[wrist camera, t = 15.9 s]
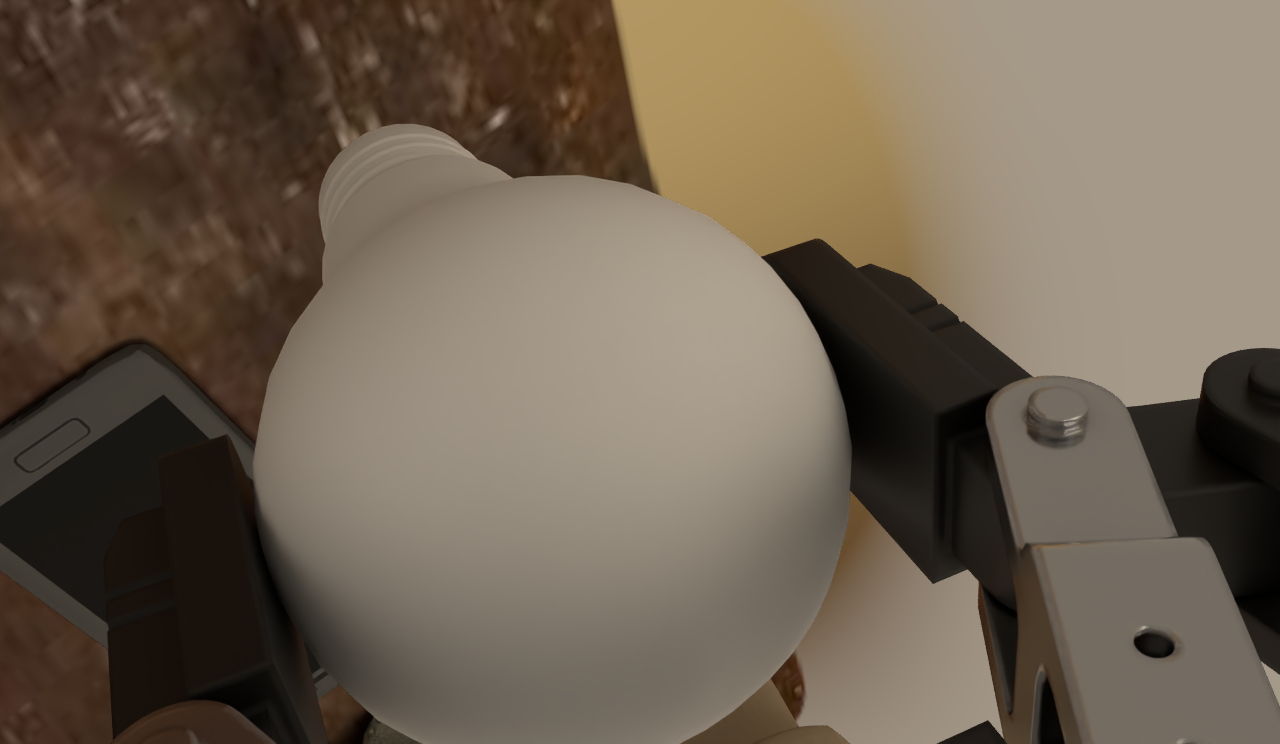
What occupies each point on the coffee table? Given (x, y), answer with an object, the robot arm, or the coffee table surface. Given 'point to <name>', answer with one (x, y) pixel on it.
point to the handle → (764, 724)
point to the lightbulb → (544, 455)
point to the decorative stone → (384, 734)
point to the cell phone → (99, 477)
